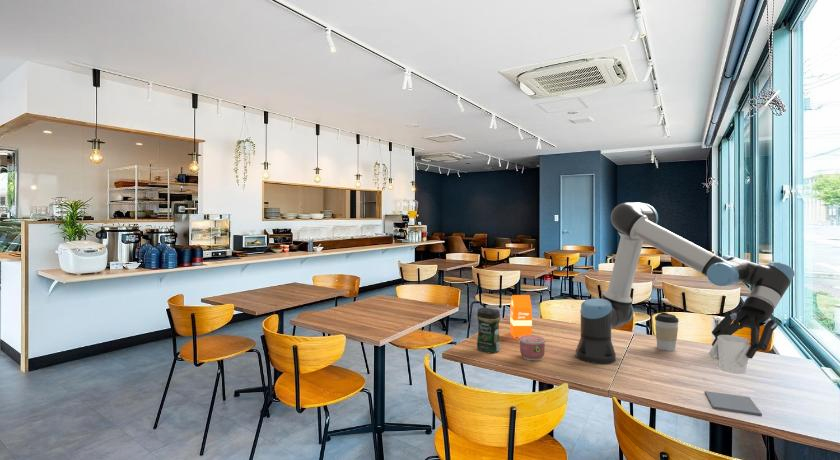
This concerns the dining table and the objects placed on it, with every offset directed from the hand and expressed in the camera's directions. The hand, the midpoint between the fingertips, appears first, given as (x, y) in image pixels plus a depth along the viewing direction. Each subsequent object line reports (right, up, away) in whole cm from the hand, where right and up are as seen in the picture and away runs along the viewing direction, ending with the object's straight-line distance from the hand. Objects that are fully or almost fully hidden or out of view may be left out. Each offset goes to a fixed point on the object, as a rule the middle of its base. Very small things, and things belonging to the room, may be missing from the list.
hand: (725, 360), depth 130 cm
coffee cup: (+14, -12, +55) cm, 58 cm away
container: (-48, -13, +45) cm, 67 cm away
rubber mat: (+3, -14, +2) cm, 15 cm away
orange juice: (-45, -12, +75) cm, 88 cm away
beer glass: (+32, -12, +47) cm, 58 cm away
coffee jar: (-64, -13, +54) cm, 85 cm away
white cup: (+3, -4, +1) cm, 5 cm away
